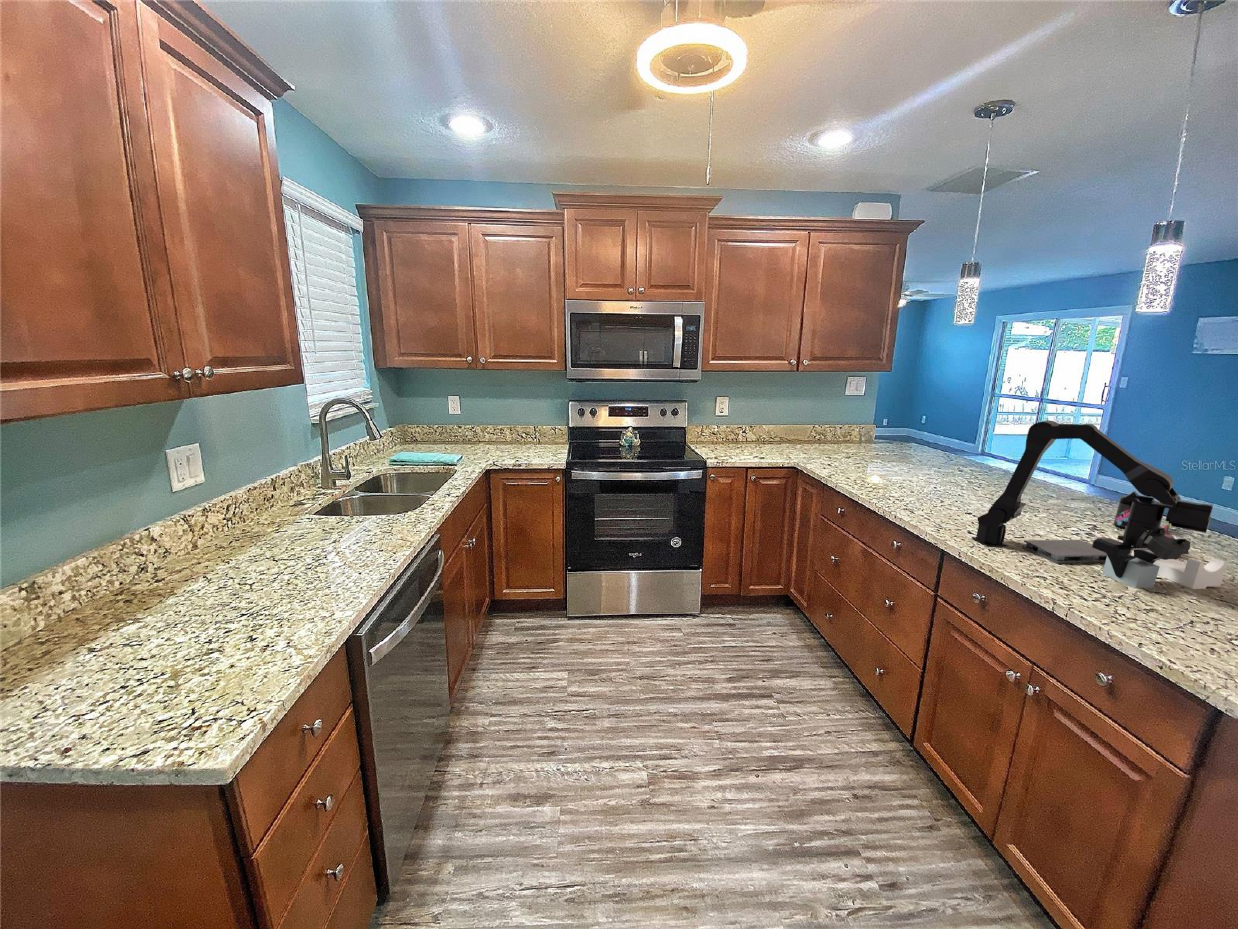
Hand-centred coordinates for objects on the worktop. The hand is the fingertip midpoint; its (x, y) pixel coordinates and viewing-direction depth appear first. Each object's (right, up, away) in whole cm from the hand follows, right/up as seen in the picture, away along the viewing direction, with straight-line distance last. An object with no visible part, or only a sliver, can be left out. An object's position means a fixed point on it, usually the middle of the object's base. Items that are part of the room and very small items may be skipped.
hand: (1128, 576), depth 125 cm
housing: (0, -1, 0) cm, 1 cm away
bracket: (+16, -1, +3) cm, 16 cm away
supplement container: (+41, +7, +39) cm, 57 cm away
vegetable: (+28, +3, +18) cm, 33 cm away
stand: (-1, +3, +16) cm, 16 cm away
